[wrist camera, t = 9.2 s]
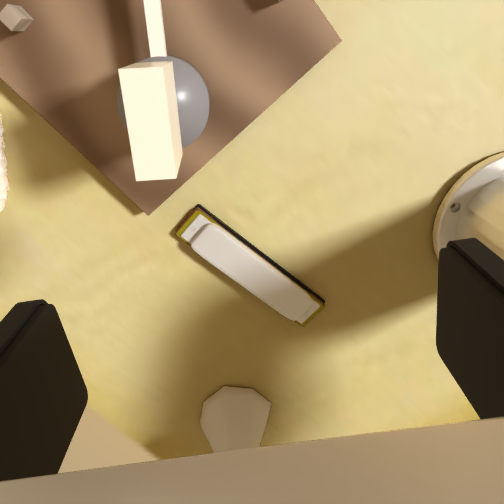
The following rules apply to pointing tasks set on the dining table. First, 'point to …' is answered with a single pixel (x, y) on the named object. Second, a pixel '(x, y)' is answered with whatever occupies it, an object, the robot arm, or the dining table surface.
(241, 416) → the flask
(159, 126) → the dial knob with pointer
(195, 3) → the board
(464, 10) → the dining table surface
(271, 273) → the harmonica
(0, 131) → the seated beast figurine
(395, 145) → the dining table surface
